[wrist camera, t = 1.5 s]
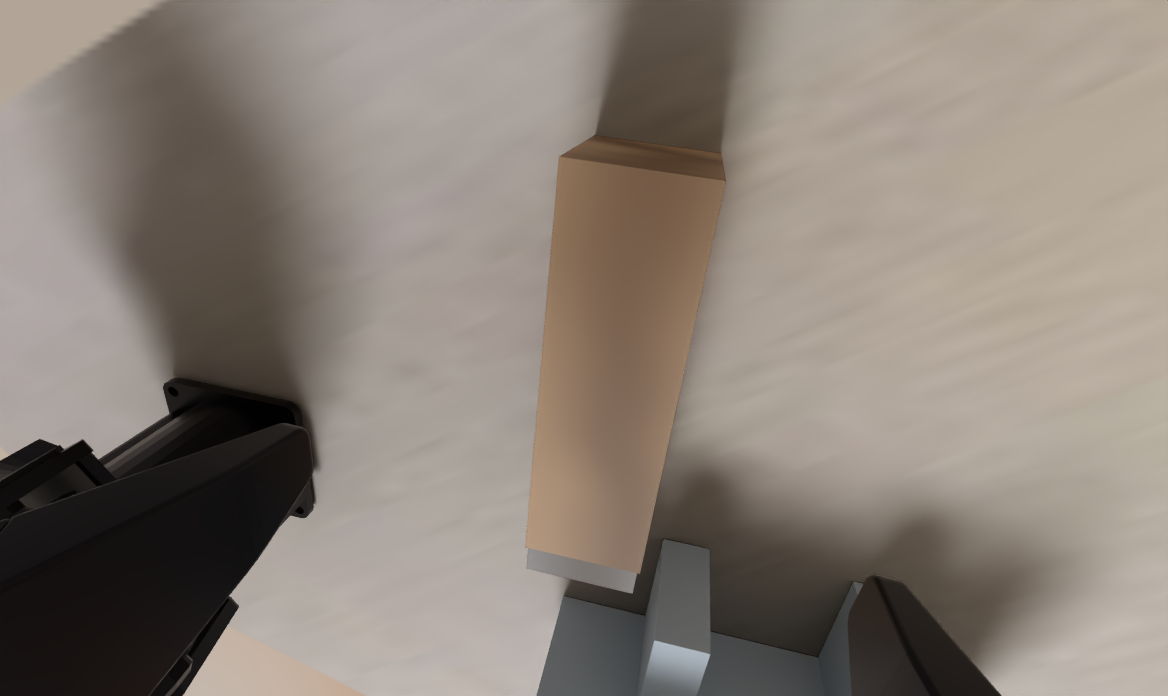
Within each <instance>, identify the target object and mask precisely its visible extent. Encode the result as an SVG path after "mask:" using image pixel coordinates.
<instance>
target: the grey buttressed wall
mask: <svg viewBox="0 0 1168 696" xmlns="http://www.w3.org/2000/svg"><path fill="white" fill-rule="evenodd" d="M862 586H863V584H862V583H858V582H853V584H852V586H851V588H850V590H849V592H848V594H847V596H846V599H845V601H844V603H843V605H842V607H841V609H840V612H839V614H838V616H837V618H836V620H835V622H834V624H833V627H832V629H831V631H830V633H829V635H828V637H827V639H826V642H825V644H824V646H823V648H822V650H821V652H820V655H819V657H818V658H817V657H813V656H809V655H805V654H801V653H797V652H793V651H788V650H784V649H780V648H776V647H772V646H768V645H764V644H759V643H755V642H751V641H747V640H743V639H739V638H735V637H730V636H726V635H722V634H718V633H714V632H710V549H706V548H702V547H697V546H693V545H688V544H684V543H680V542H675V541H671V540H666V539H663V543H662V548H661V552H660V556H659V560H658V565H657V569H656V573H655V577H654V582H653V586H652V590H651V594H650V598H649V603H648V607H647V611H646V615H645V616H644V615H639V614H635V613H631V612H627V611H623V610H619V609H615V608H610V607H606V606H602V605H598V604H594V603H590V602H586V601H582V600H577V599H573V598H569V597H565V596H563V600H562V604H561V607H560V611H559V615H558V618H557V622H556V626H555V629H554V633H553V637H552V641H551V644H550V648H549V652H548V655H547V659H546V663H545V666H544V670H543V674H542V677H541V681H540V685H539V689H538V692H537V696H851V680H850V662H849V644H848V615H849V612H850V609H851V607H852V605H853V603H854V601H855V599H856V597H857V595H858V593H859V592H860V590H861V588H862Z"/></svg>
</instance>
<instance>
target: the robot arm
mask: <svg viewBox="0 0 1168 696" xmlns="http://www.w3.org/2000/svg"><path fill="white" fill-rule="evenodd" d="M163 390H164V394H165V398H166V401H167V405H168V409H169V413H170V414H169V415H167V416H165V417H164V418H162V419H161V420H159V421H158V422H156V423H155V424H153V425H151V426H150V427H148V428H147V429H145V430H144V431H142V432H141V433H139V434H137V435H136V436H134V437H133V438H131V439H130V440H128V441H127V442H125V443H123V444H122V445H120V446H119V447H117V448H116V449H114V450H112V451H111V452H109V453H108V454H106V455H105V456H103V457H102V458H100V459H97V458H96V457H95V456H94V455H93V454H92V453H91V452H92V451H94V450H93V449H92V448H91V447H90V446H89V445H88V444H87V443H86V442H85V441H84V440H83V439H82V440H81V441H79V442H77V443H75V444H73V445H71V446H69V447H67V448H65V449H63V448H62V447H61V446H60V445H59V446H57V445H54V444H52V443H49V442H46V441H44V440H41V439H39V440H37V441H35V442H33V443H31V444H30V445H28V446H26V447H24V448H22V449H21V450H19V451H17V452H15V453H13V454H12V455H10V456H8V457H6V458H4V459H3V460H1V461H0V696H183V694H184V693H185V691H186V690H187V688H188V687H189V685H190V684H191V682H192V680H193V679H194V677H195V676H196V674H197V672H198V671H199V669H200V668H201V666H202V665H203V663H204V661H205V660H206V658H207V656H208V655H209V654H210V652H211V650H212V649H213V647H214V646H215V644H216V642H217V641H218V639H219V638H220V636H221V634H222V633H223V631H224V630H225V628H226V627H227V625H228V624H229V622H230V620H231V619H232V617H233V616H234V614H235V612H236V611H237V609H238V608H239V605H238V604H237V603H236V602H235V601H234V600H233V599H232V598H231V597H228V596H229V595H230V594H231V593H232V591H233V590H234V589H235V588H236V586H237V585H238V584H239V583H240V581H241V580H242V579H243V578H244V576H245V575H246V574H247V573H248V571H249V570H250V569H251V567H252V566H253V565H254V563H255V562H256V561H257V560H258V558H259V557H260V555H261V554H262V552H263V551H264V550H265V548H266V547H267V545H268V544H269V542H270V541H271V539H272V537H273V536H274V534H275V533H276V531H277V530H278V528H279V527H280V526H281V525H282V524H283V523H284V521H285V520H286V519H287V518H288V517H289V516H290V515H291V516H295V517H299V518H306V517H307V516H308V515H309V514H310V513H311V512H312V511H313V508H314V506H313V499H312V491H311V484H310V478H311V476H312V472H313V459H312V452H311V444H310V436H309V433H308V431H307V430H306V429H304V428H303V427H302V420H301V413H300V410H299V408H298V407H297V406H296V405H295V404H293V403H291V402H289V401H284V400H279V399H274V398H270V397H265V396H260V395H256V394H251V393H246V392H241V391H237V390H232V389H227V388H223V387H218V386H213V385H209V384H204V383H199V382H194V381H190V380H185V379H180V378H174V379H172V380H170V381H168V382H166V383H165V384H164V386H163ZM286 412H287V413H288V414H289V415H288V414H287V413H286ZM848 644H849V662H850V680H851V696H1001V694H1000V693H999V692H998V691H997V690H996V689H995V687H994V686H993V685H992V684H991V683H990V682H989V681H988V679H987V678H986V677H985V676H984V675H983V674H982V672H981V671H980V670H979V669H978V668H977V667H976V666H975V664H974V663H973V662H972V661H971V660H970V659H969V657H968V656H967V655H966V654H965V653H964V652H963V651H962V649H961V648H960V647H959V646H958V645H957V644H956V642H955V641H954V640H953V639H952V638H951V637H950V636H949V634H948V633H947V632H946V631H945V630H944V629H943V627H942V626H941V625H940V624H939V623H938V622H937V621H936V619H935V618H934V617H933V616H932V615H931V614H930V612H929V611H928V610H927V609H926V608H925V607H924V606H923V604H922V603H921V602H920V601H919V600H918V599H917V597H916V596H915V595H914V594H913V593H912V592H911V591H910V589H909V588H908V587H907V586H906V585H905V584H904V583H903V582H901V581H900V580H897V579H894V578H890V577H886V576H882V575H878V574H872V575H870V576H868V577H867V579H866V580H865V582H864V584H863V586H862V588H861V590H860V592H859V593H858V595H857V597H856V599H855V601H854V603H853V605H852V607H851V609H850V612H849V615H848Z"/></svg>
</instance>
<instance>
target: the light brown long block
mask: <svg viewBox="0 0 1168 696" xmlns="http://www.w3.org/2000/svg"><path fill="white" fill-rule="evenodd" d="M725 183H726V179H725V173H724V168H723V162H722V157H721V153H715V152H708V151H701V150H694V149H687V148H680V147H672V146H665V145H658V144H651V143H644V142H637V141H630V140H623V139H616V138H609V137H602V136H593V137H592V138H590V139H588V140H586V141H585V142H583V143H581V144H580V145H578V146H576V147H575V148H573V149H571V150H570V151H568V152H566V153H565V154H563V155H561V156H559V164H558V176H557V187H556V199H555V211H554V222H553V234H552V245H551V257H550V268H549V280H548V291H547V303H546V315H545V326H544V338H543V349H542V361H541V372H540V384H539V395H538V407H537V418H536V430H535V442H534V453H533V465H532V476H531V488H530V499H529V511H528V522H527V534H526V545H525V547H526V548H528V555H527V566H526V569H530V570H535V571H539V572H543V573H547V574H552V575H556V576H560V577H564V578H568V579H573V580H577V581H581V582H585V583H589V584H594V585H598V586H602V587H606V588H611V589H615V590H619V591H623V592H627V593H632V594H633V589H634V585H635V580H636V575H637V573H638V574H640V571H641V567H642V562H643V557H644V553H645V548H646V544H647V539H648V535H649V530H650V525H651V521H652V516H653V512H654V507H655V503H656V498H657V494H658V489H659V484H660V480H661V475H662V471H663V466H664V462H665V457H666V452H667V448H668V443H669V439H670V434H671V430H672V425H673V420H674V416H675V411H676V407H677V402H678V398H679V393H680V389H681V384H682V379H683V375H684V370H685V366H686V361H687V357H688V352H689V347H690V343H691V338H692V334H693V329H694V325H695V320H696V315H697V311H698V306H699V302H700V297H701V293H702V288H703V284H704V279H705V274H706V270H707V265H708V261H709V256H710V252H711V247H712V242H713V238H714V233H715V229H716V224H717V220H718V215H719V210H720V206H721V201H722V197H723V192H724V188H725Z"/></svg>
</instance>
